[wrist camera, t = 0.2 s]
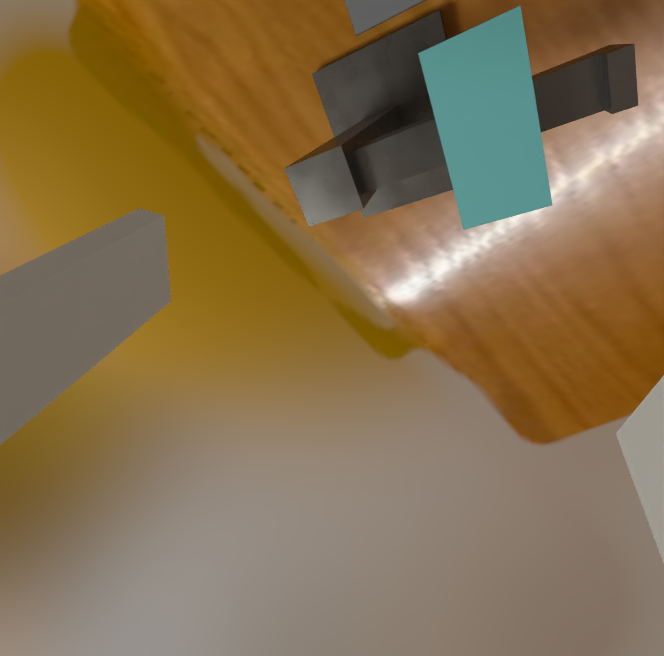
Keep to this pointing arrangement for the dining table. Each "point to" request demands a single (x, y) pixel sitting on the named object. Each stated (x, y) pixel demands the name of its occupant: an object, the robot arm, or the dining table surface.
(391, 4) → the mat
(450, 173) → the u-shaped block
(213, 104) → the dining table surface
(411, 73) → the stand
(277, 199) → the dining table surface
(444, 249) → the dining table surface
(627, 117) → the dining table surface
